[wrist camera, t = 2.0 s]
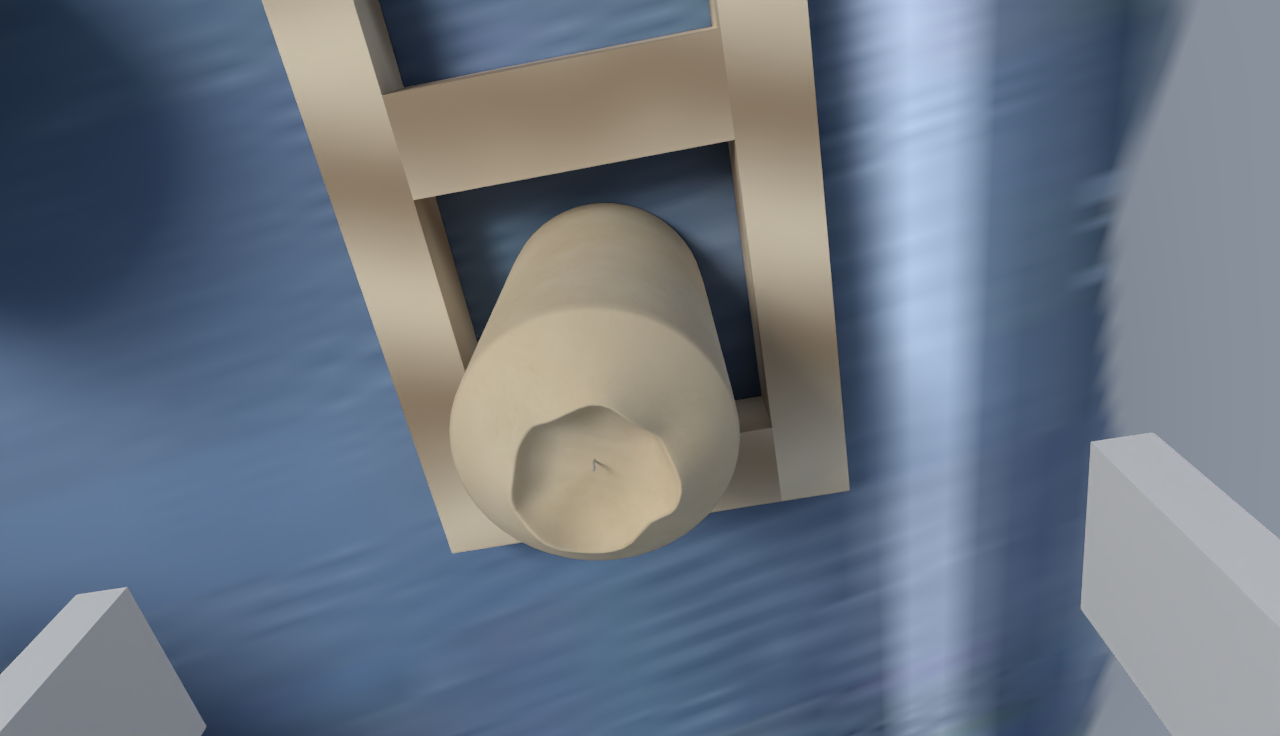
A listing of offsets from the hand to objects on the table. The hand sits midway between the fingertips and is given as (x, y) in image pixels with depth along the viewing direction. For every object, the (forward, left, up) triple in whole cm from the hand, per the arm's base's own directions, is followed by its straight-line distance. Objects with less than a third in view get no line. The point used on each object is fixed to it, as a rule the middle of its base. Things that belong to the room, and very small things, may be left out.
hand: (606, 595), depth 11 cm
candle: (0, 0, -13) cm, 13 cm away
